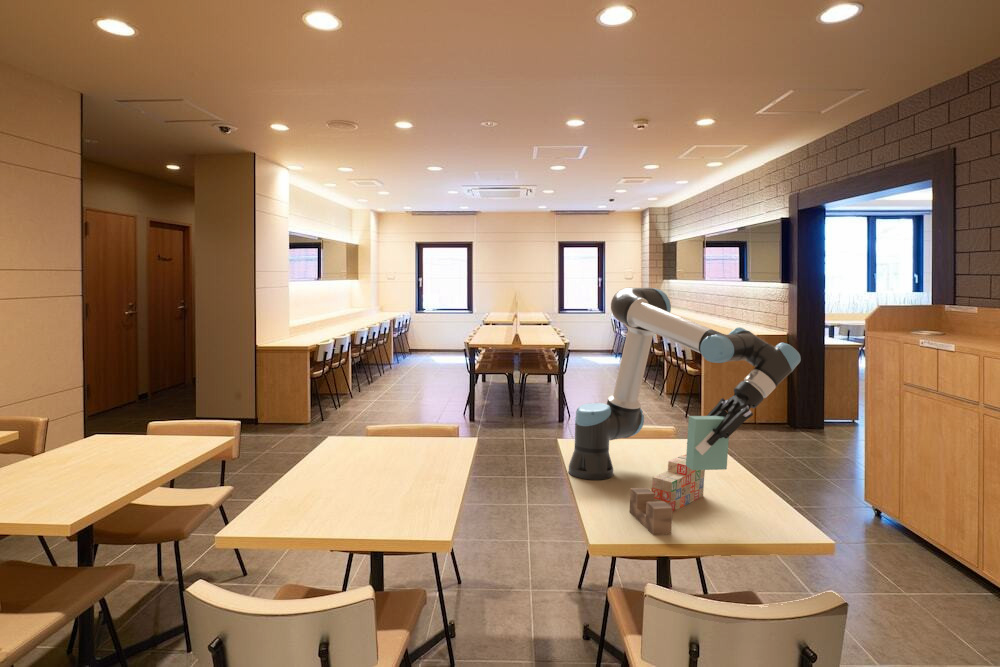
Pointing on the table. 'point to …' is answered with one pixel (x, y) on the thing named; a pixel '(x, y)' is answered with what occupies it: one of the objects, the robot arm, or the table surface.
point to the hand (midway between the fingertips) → (694, 449)
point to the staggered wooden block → (650, 511)
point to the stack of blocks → (678, 484)
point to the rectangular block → (715, 454)
